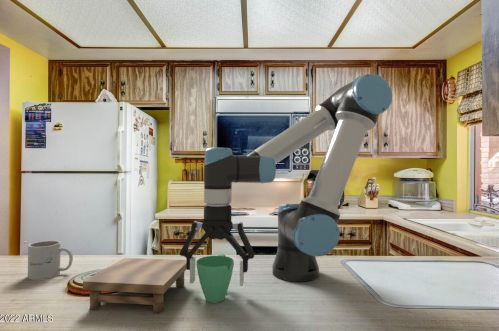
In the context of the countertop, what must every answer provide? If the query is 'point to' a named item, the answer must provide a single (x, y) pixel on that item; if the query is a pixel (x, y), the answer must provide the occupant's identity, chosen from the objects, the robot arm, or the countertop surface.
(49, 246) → the mug
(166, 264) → the stool
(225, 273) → the green cup
